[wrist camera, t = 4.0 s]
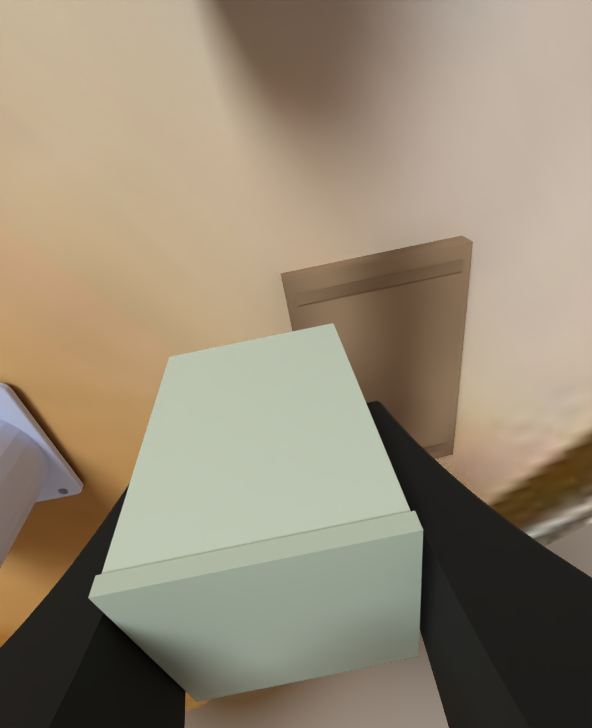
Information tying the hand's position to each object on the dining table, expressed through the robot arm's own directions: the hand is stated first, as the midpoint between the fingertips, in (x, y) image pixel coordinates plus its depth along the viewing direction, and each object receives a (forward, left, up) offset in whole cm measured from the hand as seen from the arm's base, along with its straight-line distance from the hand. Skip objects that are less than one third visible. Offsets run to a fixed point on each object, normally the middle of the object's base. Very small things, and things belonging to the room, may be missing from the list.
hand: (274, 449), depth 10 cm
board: (+5, -5, -9) cm, 12 cm away
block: (0, 0, -2) cm, 2 cm away
